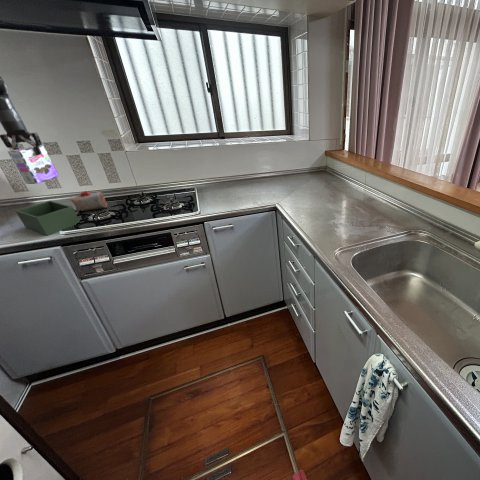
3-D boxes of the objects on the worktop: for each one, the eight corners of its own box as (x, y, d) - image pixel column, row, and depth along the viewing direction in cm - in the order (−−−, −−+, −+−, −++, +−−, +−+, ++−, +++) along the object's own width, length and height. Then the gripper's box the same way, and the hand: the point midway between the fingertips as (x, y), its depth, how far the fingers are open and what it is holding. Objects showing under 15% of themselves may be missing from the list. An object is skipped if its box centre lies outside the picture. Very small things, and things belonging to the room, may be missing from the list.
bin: (25, 227, 128) (14, 210, 124) (59, 216, 139) (50, 200, 134) (47, 235, 121) (36, 217, 116) (80, 223, 131) (72, 206, 127)
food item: (75, 213, 142) (66, 196, 137) (79, 208, 148) (71, 191, 143) (106, 209, 147) (98, 192, 142) (108, 204, 153) (101, 187, 148)
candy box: (37, 184, 135) (18, 150, 127) (25, 184, 135) (6, 151, 127) (60, 176, 147) (44, 145, 139) (49, 176, 147) (32, 145, 139)
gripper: (33, 118, 132) (51, 152, 140) (-4, 119, 128) (16, 155, 136) (24, 119, 125) (43, 155, 134) (-15, 121, 121) (7, 158, 130)
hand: (30, 155), depth 135 cm, fingers closed on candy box, 7 cm apart
